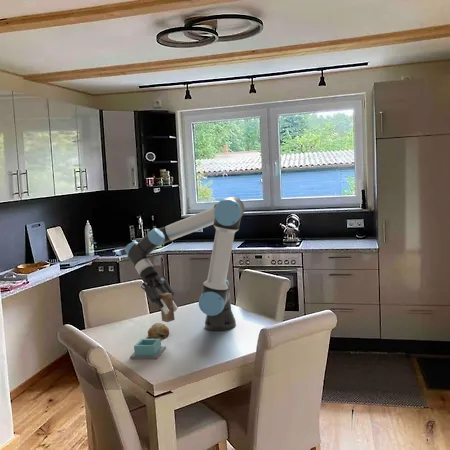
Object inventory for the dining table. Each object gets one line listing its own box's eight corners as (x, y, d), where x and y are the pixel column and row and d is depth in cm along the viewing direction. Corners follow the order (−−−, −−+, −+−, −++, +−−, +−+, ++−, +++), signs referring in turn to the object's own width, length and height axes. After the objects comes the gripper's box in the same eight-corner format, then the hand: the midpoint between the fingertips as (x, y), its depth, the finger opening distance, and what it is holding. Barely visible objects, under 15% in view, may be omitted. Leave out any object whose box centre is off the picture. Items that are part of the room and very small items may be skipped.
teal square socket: (166, 348, 228) (165, 337, 228) (157, 358, 217) (156, 347, 216) (140, 348, 231) (139, 337, 230) (130, 358, 219) (129, 347, 219)
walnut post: (169, 318, 235) (166, 292, 233) (174, 319, 232) (171, 293, 230) (162, 320, 232) (159, 294, 230) (167, 322, 229) (164, 295, 227)
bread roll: (151, 347, 242) (152, 334, 238) (144, 333, 250) (145, 320, 246) (171, 342, 247) (172, 329, 243) (163, 328, 254) (164, 316, 251)
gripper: (158, 272, 247) (183, 311, 237) (128, 279, 235) (153, 321, 225) (164, 262, 242) (190, 301, 232) (133, 269, 231) (159, 311, 221)
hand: (171, 311), depth 229 cm, fingers closed on walnut post, 4 cm apart
